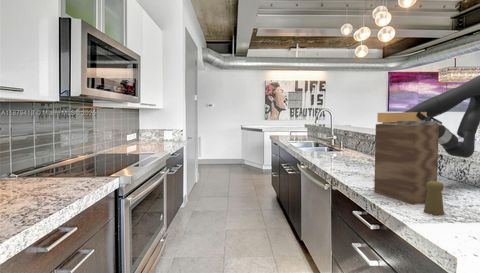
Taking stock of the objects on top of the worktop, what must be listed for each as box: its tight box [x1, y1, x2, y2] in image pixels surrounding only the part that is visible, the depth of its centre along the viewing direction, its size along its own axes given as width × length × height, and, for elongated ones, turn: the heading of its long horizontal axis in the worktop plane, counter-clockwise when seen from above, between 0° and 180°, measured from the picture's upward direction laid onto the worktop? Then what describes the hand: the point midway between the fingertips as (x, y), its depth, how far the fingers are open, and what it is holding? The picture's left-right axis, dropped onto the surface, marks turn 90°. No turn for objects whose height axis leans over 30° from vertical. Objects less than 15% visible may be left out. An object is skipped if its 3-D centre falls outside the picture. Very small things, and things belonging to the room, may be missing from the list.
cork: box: [423, 180, 445, 216], centre depth 107 cm, size 6×6×11 cm
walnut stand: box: [373, 121, 439, 205], centre depth 128 cm, size 12×20×32 cm, turn 18°
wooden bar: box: [376, 111, 427, 123], centre depth 132 cm, size 22×4×4 cm, turn 108°
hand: (412, 113), depth 134 cm, fingers closed on wooden bar, 4 cm apart
